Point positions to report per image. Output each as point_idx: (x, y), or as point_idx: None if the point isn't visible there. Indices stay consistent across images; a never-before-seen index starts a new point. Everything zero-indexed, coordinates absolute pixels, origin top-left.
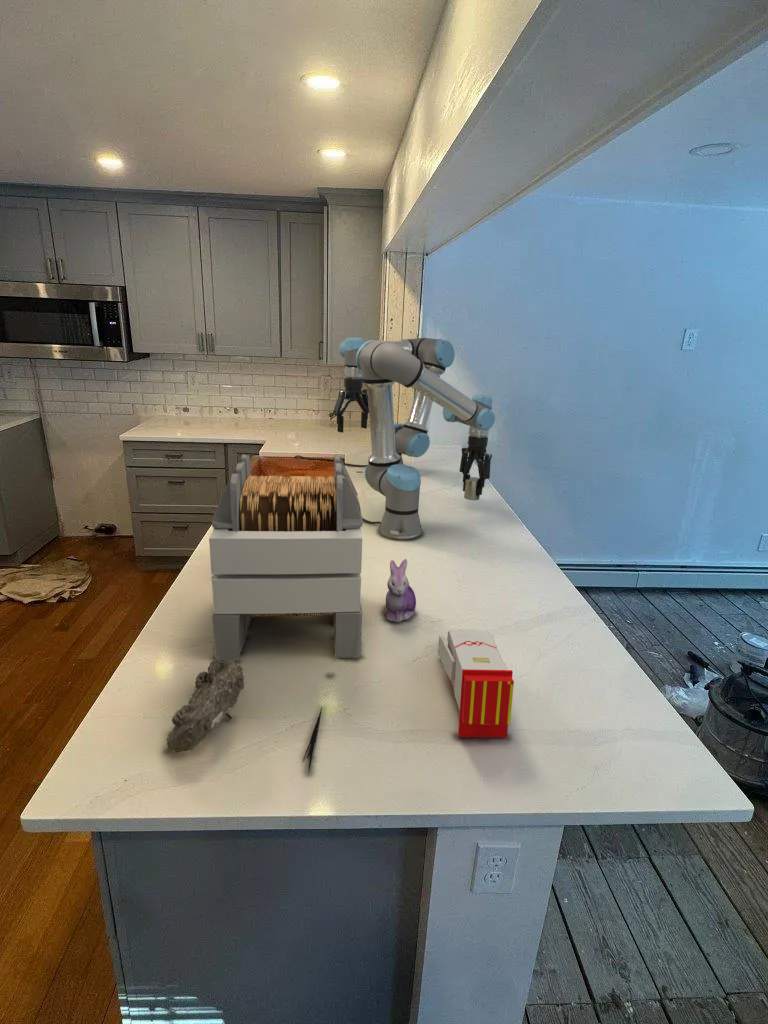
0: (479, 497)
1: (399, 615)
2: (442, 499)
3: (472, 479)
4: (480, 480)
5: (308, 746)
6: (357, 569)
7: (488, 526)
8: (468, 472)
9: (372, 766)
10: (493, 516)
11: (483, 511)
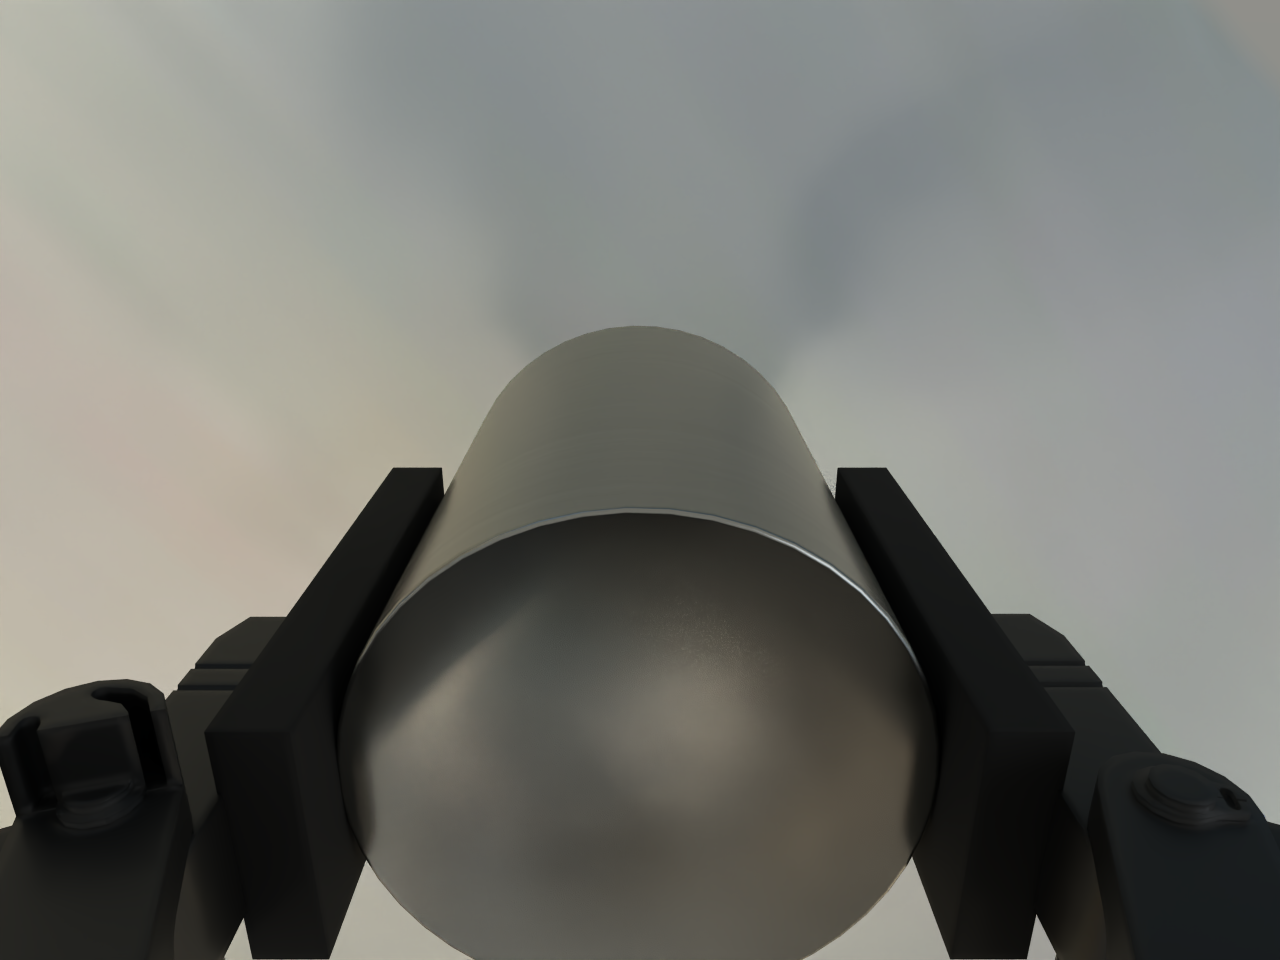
0: (782, 402)
1: None
2: (20, 460)
3: (638, 841)
4: (1038, 880)
5: None
6: None
7: (1277, 766)
8: (186, 857)
9: None
10: (1140, 401)
11: (879, 345)
